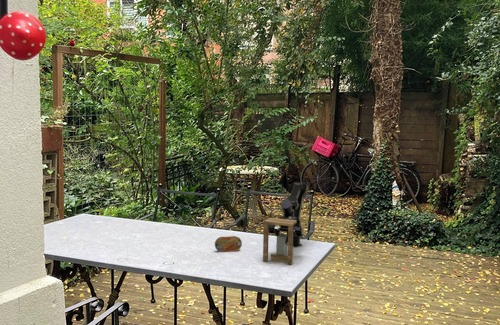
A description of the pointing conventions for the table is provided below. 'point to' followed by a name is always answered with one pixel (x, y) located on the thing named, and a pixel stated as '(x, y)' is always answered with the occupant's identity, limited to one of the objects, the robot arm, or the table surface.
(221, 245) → the tin
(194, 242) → the table surface
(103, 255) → the table surface
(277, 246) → the slab
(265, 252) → the wooden frame
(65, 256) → the table surface
